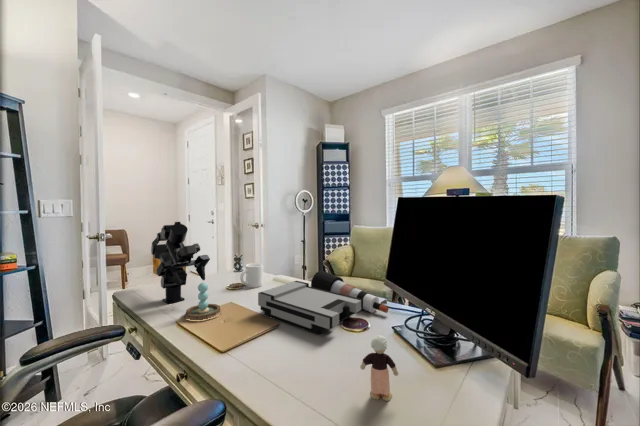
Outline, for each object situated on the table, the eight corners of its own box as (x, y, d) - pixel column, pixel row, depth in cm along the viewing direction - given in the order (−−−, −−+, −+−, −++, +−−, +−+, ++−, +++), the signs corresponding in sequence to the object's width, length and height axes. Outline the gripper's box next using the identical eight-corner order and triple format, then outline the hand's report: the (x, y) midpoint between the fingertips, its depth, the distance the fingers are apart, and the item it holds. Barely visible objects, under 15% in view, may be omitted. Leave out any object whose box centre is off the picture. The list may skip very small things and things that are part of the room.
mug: (245, 291, 127) (245, 269, 127) (235, 287, 133) (235, 266, 132) (266, 285, 136) (266, 264, 135) (256, 282, 141) (256, 262, 141)
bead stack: (197, 311, 100) (196, 282, 100) (208, 309, 102) (208, 280, 102) (197, 314, 97) (197, 284, 97) (209, 312, 99) (209, 283, 98)
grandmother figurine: (394, 389, 60) (395, 332, 59) (399, 402, 56) (399, 341, 55) (359, 388, 60) (359, 331, 60) (361, 401, 56) (361, 340, 56)
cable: (381, 330, 98) (377, 309, 94) (314, 297, 121) (308, 280, 117) (395, 310, 104) (392, 290, 100) (328, 283, 127) (323, 266, 123)
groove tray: (179, 315, 99) (179, 310, 99) (210, 306, 108) (210, 301, 108) (194, 325, 91) (194, 319, 91) (227, 314, 100) (227, 308, 100)
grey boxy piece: (329, 341, 81) (329, 314, 81) (258, 315, 100) (258, 292, 100) (363, 318, 98) (363, 295, 97) (296, 299, 117) (296, 280, 117)
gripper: (160, 239, 98) (176, 275, 92) (207, 235, 114) (223, 265, 108) (150, 258, 103) (164, 293, 97) (196, 251, 118) (211, 281, 112)
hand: (193, 282), depth 103 cm, fingers open, 9 cm apart
